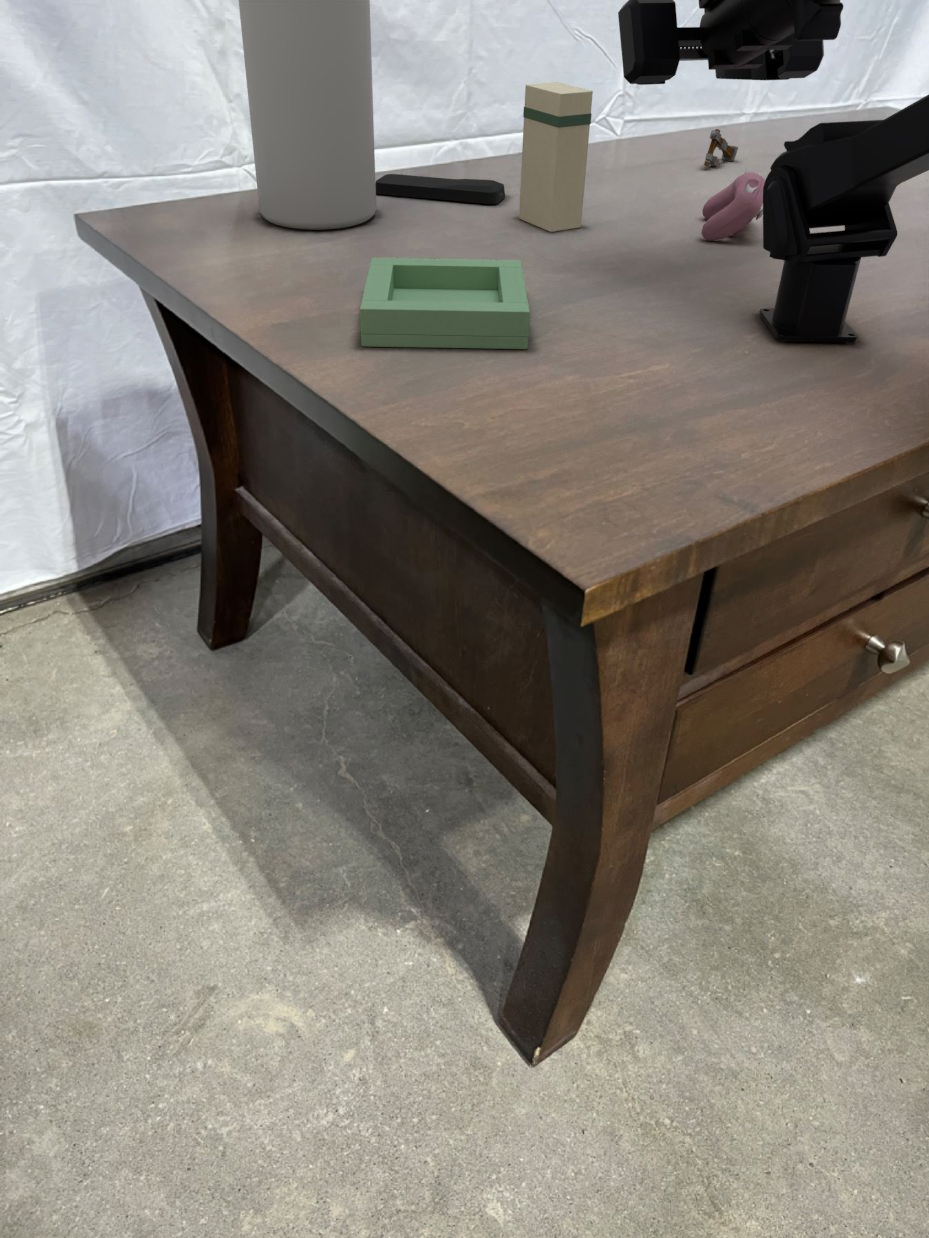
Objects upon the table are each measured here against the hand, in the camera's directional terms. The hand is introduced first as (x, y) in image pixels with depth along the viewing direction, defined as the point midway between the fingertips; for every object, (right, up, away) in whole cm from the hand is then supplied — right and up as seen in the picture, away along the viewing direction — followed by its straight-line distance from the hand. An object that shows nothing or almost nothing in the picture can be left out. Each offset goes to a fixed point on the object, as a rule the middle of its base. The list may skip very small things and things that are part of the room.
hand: (674, 74), depth 93 cm
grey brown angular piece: (+14, +9, +38) cm, 41 cm away
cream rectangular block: (-11, -9, +13) cm, 19 cm away
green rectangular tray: (-21, -26, -11) cm, 36 cm away
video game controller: (+8, -10, +12) cm, 18 cm away
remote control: (-23, -2, +22) cm, 32 cm away
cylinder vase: (-36, -8, +14) cm, 39 cm away
